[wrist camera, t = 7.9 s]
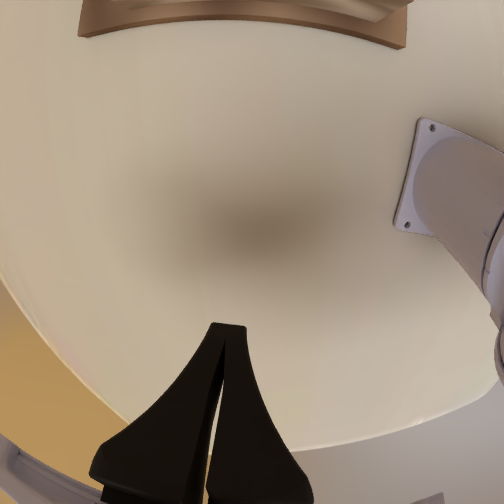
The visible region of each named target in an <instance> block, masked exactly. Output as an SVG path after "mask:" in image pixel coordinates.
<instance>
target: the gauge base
mask: <svg viewBox="0 0 504 504" xmlns="http://www.w3.org/2000/svg"><path fill="white" fill-rule="evenodd" d="M413 1H414V0H83V4H82V9H81V15H80V21H79V28H78V36H79V37H85V38H88V37H92V36H96V35H100V34H104V33H108V32H113V31H117V30H122V29H127V28H133V27H138V26H145V25H152V24H159V23H168V22H179V21H193V20H252V21H266V22H277V23H286V24H293V25H300V26H307V27H313V28H318V29H324V30H328V31H333V32H338V33H342V34H346V35H350V36H354V37H358V38H362V39H365V40H369V41H372V42H376V43H379V44H382V45H385V46H388V47H391V48H394V49H397V50H398V49H402V48H406V32H407V4H409V3H411V2H413Z"/></svg>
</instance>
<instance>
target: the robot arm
mask: <svg viewBox="0 0 504 504" xmlns="http://www.w3.org/2000/svg"><path fill="white" fill-rule="evenodd" d="M431 124H432V126H433V129H432V130H431V131H430V129H429V127H430V125H431ZM406 222H409V223H408V225H407V226H404V225H405V223H406ZM394 226H395V227H396V228H397V229H398V230H401V231H407V232H413V233H418V234H424V235H430V236H435V237H436V238H437V239H438V240H439V241H440V242H441V243H442V244H443V245H444V246H445V248H446V249H447V250H448V251H449V252H450V253H451V255H452V256H453V257H454V258H455V259H456V260H457V262H458V263H459V264H460V265H461V266H462V268H463V269H464V270H465V271H466V273H467V274H468V275H469V276H470V278H471V279H472V280H473V282H474V283H475V284H476V285H477V287H478V288H479V289H480V291H481V292H482V293H483V295H484V296H485V298H486V299H487V300H488V302H489V303H490V305H491V312H490V317H491V318H492V320H493V321H494V323H495V325H496V326H497V328H498V329H499V332H498V335H497V338H496V341H495V348H494V360H495V366H496V370H497V373H498V376H499V378H500V380H501V382H502V384H503V386H504V153H502V152H501V151H499V150H497V149H495V148H493V147H491V146H489V145H487V144H485V143H483V142H481V141H479V140H477V139H475V138H473V137H471V136H469V135H466V134H464V133H462V132H460V131H457V130H455V129H453V128H450V127H448V126H446V125H443V124H441V123H438V122H436V121H433V120H430V119H428V118H420V120H419V121H418V125H417V130H416V135H415V140H414V145H413V150H412V155H411V159H410V164H409V168H408V172H407V176H406V180H405V184H404V188H403V192H402V195H401V199H400V202H399V206H398V209H397V213H396V216H395V219H394ZM223 380H224V383H223ZM222 384H223V393H222V399H221V405H220V411H219V417H218V422H217V428H216V434H215V439H214V445H213V450H212V456H211V461H210V467H209V472H208V477H207V482H206V490H207V492H208V495H209V498H208V504H313V503H314V497H313V492H312V488H311V485H310V483H309V480H308V478H307V476H306V474H305V473H304V472H303V470H301V468H300V467H299V465H298V464H297V462H296V461H295V460H294V458H293V456H292V455H291V453H290V452H289V450H288V449H287V447H286V445H285V444H284V442H283V440H282V438H281V437H280V435H279V433H278V431H277V429H276V428H275V426H274V424H273V422H272V420H271V418H270V415H269V413H268V411H267V409H266V406H265V404H264V402H263V399H262V397H261V394H260V391H259V388H258V385H257V382H256V379H255V376H254V372H253V369H252V365H251V361H250V356H249V351H248V345H247V328H246V327H245V326H240V325H231V324H223V323H216V322H213V323H211V325H210V327H209V329H208V331H207V333H206V335H205V337H204V339H203V341H202V342H201V344H200V346H199V347H198V349H197V351H196V352H195V354H194V355H193V357H192V358H191V360H190V361H189V363H188V364H187V365H186V367H185V368H184V369H183V371H182V372H181V373H180V375H179V376H178V377H177V379H176V380H175V381H174V382H173V383H172V385H171V386H170V387H169V388H168V389H167V390H166V391H165V392H164V394H163V395H162V396H161V397H160V398H159V399H158V400H157V401H156V402H155V403H154V404H153V405H152V406H151V407H150V408H149V409H148V410H146V411H145V412H144V413H143V414H142V415H141V416H140V417H138V418H137V419H136V420H135V421H133V422H132V423H131V424H130V425H129V426H127V427H126V428H125V429H123V430H122V431H121V432H119V433H118V434H116V435H115V436H113V437H112V438H110V439H109V440H107V441H106V442H104V443H103V444H102V445H101V446H100V447H99V449H98V451H97V453H96V455H95V456H94V458H93V461H92V464H91V467H90V471H89V476H90V477H91V478H92V479H94V480H96V481H98V482H99V483H101V484H103V485H104V488H103V491H100V490H97V489H95V488H93V487H90V486H88V485H86V484H84V483H81V482H79V481H77V480H75V479H73V478H71V477H69V476H66V475H65V474H63V473H61V472H59V471H57V470H55V469H53V468H51V467H50V466H48V465H46V464H44V463H43V462H41V461H39V460H37V459H36V458H34V457H32V456H31V455H29V454H28V453H26V452H25V451H23V450H22V449H20V448H19V447H18V446H17V445H15V444H14V443H13V442H11V441H10V440H9V439H7V438H6V437H5V436H3V435H2V434H0V489H2V490H3V491H4V492H5V493H6V494H7V495H8V496H10V497H11V498H12V499H13V500H14V501H15V502H17V503H18V504H202V503H203V493H204V484H205V476H206V467H207V459H208V452H209V444H210V437H211V430H212V425H213V420H214V416H215V412H216V408H217V404H218V400H219V396H220V392H221V388H222ZM410 504H445V502H444V495H443V493H442V492H441V493H438V494H436V495H433V496H430V497H428V498H425V499H422V500H419V501H416V502H413V503H410Z"/></svg>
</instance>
